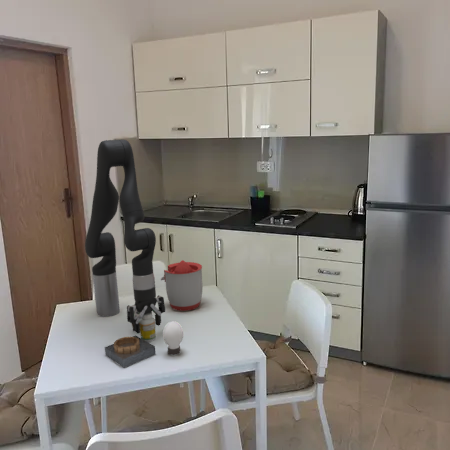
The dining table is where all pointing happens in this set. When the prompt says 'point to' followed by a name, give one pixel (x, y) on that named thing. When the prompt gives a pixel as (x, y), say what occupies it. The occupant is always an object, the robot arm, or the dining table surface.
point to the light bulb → (173, 337)
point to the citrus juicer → (184, 285)
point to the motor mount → (129, 350)
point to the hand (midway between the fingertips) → (147, 328)
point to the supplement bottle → (147, 327)
